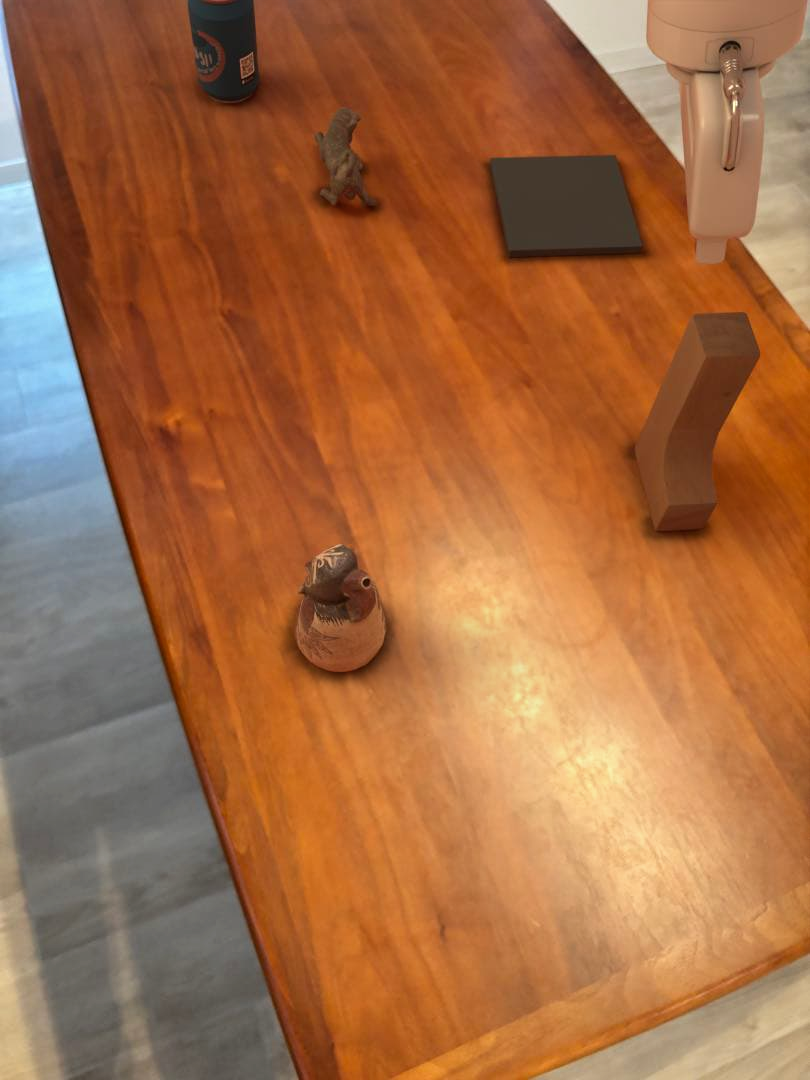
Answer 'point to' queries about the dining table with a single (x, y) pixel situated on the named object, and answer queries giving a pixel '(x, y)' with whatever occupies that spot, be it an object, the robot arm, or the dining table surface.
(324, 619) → the figurine
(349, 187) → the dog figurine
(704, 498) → the wooden block
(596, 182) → the mat
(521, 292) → the dining table surface
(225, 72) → the soda can
